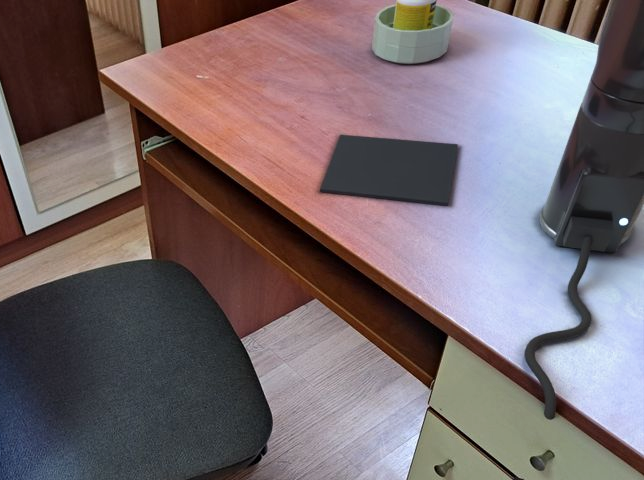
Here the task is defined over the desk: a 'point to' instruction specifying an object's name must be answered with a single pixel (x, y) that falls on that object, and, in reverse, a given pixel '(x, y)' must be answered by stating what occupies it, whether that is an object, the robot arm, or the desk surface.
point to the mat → (391, 169)
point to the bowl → (411, 37)
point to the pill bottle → (414, 14)
